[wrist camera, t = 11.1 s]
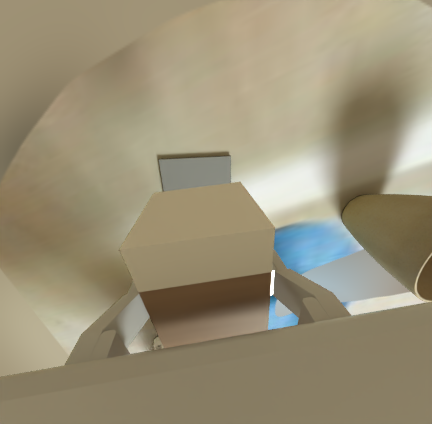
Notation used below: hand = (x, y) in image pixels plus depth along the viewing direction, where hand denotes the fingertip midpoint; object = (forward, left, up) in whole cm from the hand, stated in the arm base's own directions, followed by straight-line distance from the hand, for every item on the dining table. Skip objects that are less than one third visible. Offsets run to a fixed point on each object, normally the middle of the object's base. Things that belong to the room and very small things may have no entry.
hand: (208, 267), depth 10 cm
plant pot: (+1, -34, -20) cm, 40 cm away
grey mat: (-4, -1, -20) cm, 21 cm away
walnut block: (-7, -3, 0) cm, 8 cm away
